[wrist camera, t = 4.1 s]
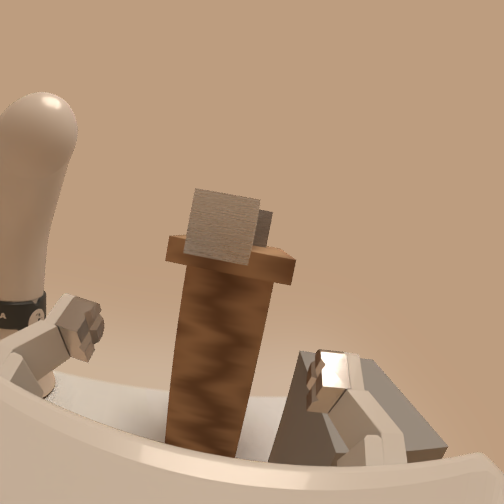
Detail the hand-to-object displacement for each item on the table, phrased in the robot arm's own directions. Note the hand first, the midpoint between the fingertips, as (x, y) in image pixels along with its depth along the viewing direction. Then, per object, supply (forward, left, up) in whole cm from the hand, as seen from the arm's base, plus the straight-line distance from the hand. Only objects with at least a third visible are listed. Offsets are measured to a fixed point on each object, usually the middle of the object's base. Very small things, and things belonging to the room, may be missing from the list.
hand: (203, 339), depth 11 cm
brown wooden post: (0, +22, -24) cm, 32 cm away
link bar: (0, +17, +3) cm, 17 cm away
